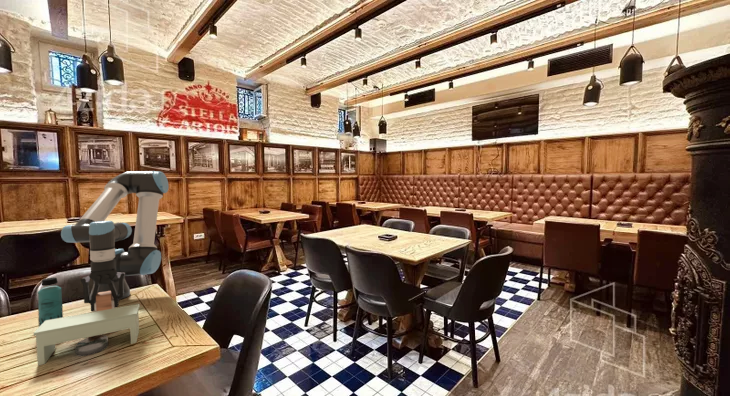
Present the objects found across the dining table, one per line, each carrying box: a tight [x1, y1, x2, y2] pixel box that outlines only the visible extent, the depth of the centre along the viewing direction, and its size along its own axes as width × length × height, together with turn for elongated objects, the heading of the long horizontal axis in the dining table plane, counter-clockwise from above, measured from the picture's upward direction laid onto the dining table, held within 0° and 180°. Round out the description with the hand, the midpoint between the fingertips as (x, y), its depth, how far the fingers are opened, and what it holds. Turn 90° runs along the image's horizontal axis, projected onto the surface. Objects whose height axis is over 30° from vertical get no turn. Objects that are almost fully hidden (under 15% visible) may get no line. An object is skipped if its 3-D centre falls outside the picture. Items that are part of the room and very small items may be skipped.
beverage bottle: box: [37, 277, 64, 328], centre depth 113 cm, size 6×7×20 cm
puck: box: [74, 334, 109, 357], centre depth 100 cm, size 8×8×3 cm
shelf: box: [32, 303, 141, 366], centre depth 101 cm, size 10×25×10 cm, turn 123°
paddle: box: [87, 291, 113, 338], centre depth 112 cm, size 22×4×10 cm, turn 33°
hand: (105, 316), depth 120 cm, fingers closed on paddle, 4 cm apart
